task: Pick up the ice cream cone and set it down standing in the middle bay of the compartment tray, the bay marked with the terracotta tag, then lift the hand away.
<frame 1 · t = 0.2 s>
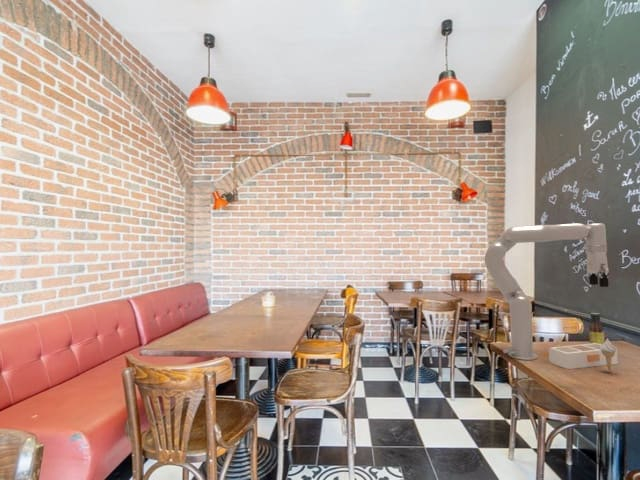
hand: (598, 285, 163), 37 cm above the table, tool pointing down, fingers open, 9 cm apart
sauce bottle: (597, 352, 180), on the table
ice cream cone: (609, 373, 150), on the table
compartment tray: (583, 363, 163), on the table
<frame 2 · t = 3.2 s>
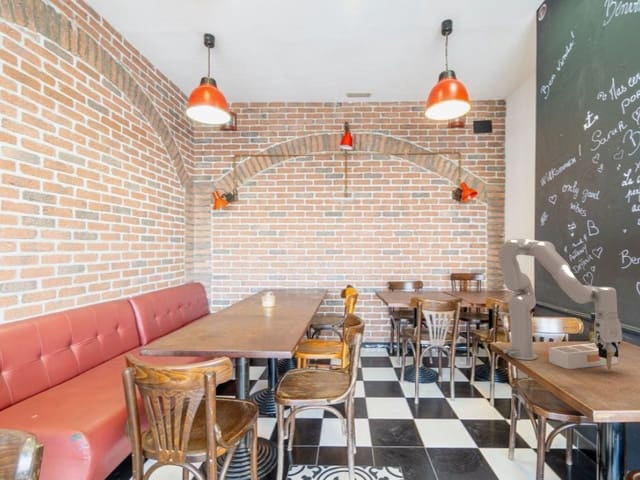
hand: (608, 356, 151), 7 cm above the table, tool pointing down, fingers closed on ice cream cone, 5 cm apart
ice cream cone: (609, 373, 150), on the table, touching gripper
everything else where it was.
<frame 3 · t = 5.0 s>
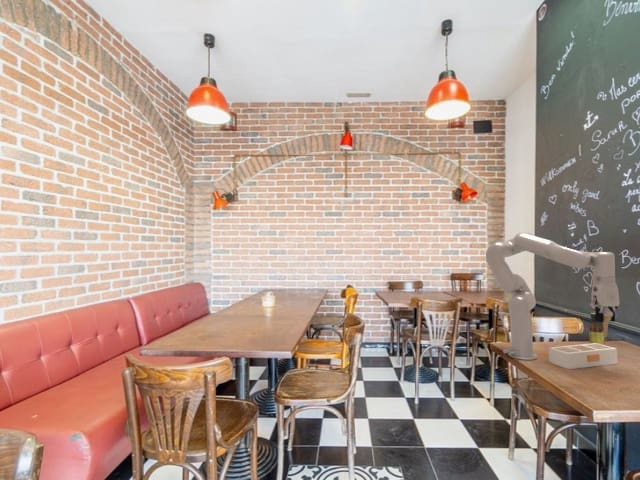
hand: (605, 320, 151), 22 cm above the table, tool pointing down, fingers closed on ice cream cone, 5 cm apart
ice cream cone: (605, 337, 151), point 15 cm above the table, touching gripper
everything else where it was.
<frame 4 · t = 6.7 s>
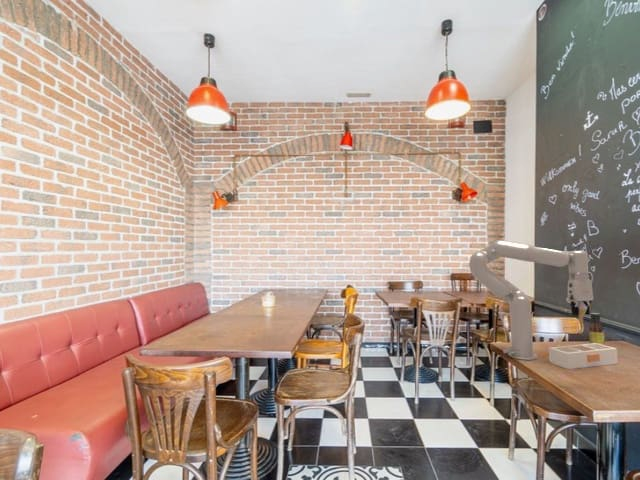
hand: (580, 314, 164), 23 cm above the table, tool pointing down, fingers closed on ice cream cone, 5 cm apart
ice cream cone: (581, 329, 164), point 16 cm above the table, touching gripper
everything else where it was.
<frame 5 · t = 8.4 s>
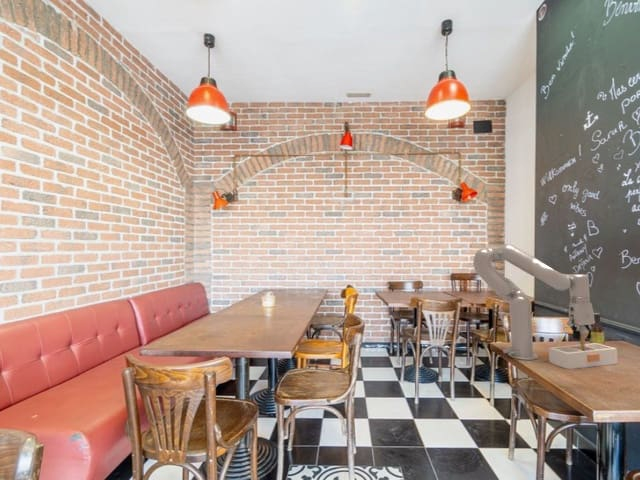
hand: (582, 338, 164), 12 cm above the table, tool pointing down, fingers closed on ice cream cone, 5 cm apart
ice cream cone: (583, 353, 163), point 5 cm above the table, touching gripper
everything else where it was.
when the fingers open (8 cm above the table, at t = 10.0 s): ice cream cone stays where it is, resting on compartment tray.
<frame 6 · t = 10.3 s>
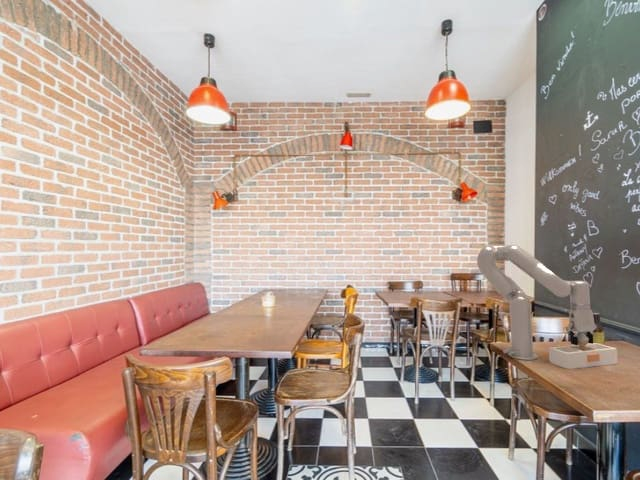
hand: (582, 343, 164), 9 cm above the table, tool pointing down, fingers open, 8 cm apart
ice cream cone: (582, 360, 163), point 1 cm above the table, touching compartment tray
everything else where it was.
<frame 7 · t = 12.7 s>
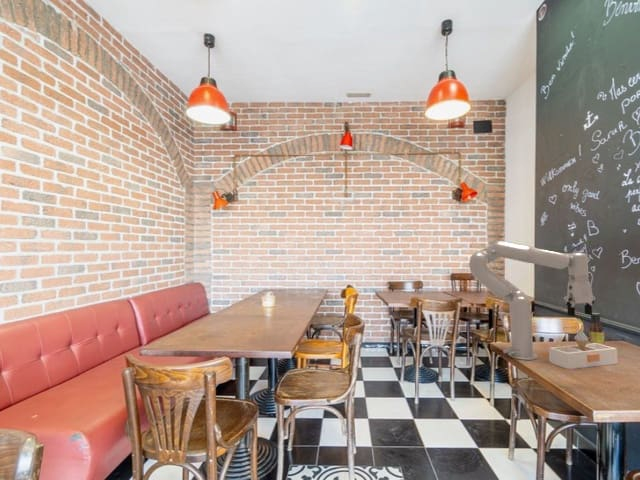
hand: (579, 314, 164), 23 cm above the table, tool pointing down, fingers open, 9 cm apart
nothing on the table moved.
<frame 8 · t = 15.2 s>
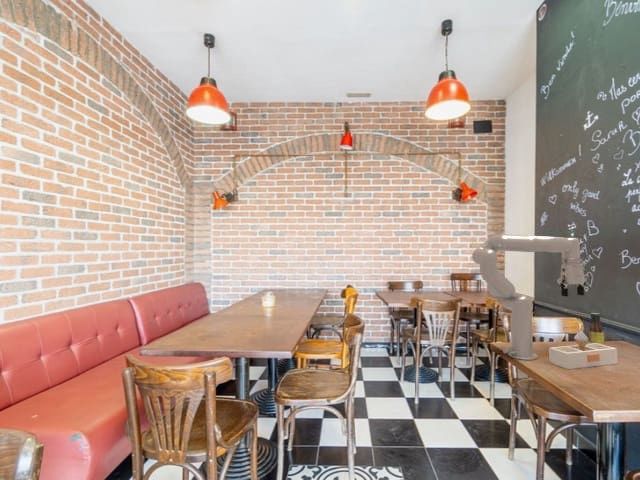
hand: (572, 295, 175), 30 cm above the table, tool pointing down, fingers open, 9 cm apart
nothing on the table moved.
at the end: ice cream cone 0.1 cm off-centre on the compartment tray, point 1.0 cm above the compartment tray's base; ice cream cone tilted 0°; the gripper is holding nothing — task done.
